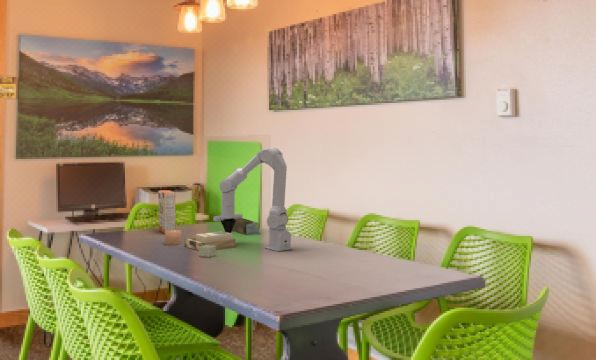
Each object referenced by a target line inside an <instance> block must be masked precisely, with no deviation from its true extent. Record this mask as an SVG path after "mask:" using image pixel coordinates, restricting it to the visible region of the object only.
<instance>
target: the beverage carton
mask: <svg viewBox="0 0 596 360" xmlns="http://www.w3.org/2000/svg"><path fill="white" fill-rule="evenodd" d="M234 220H236V222H235V224H234V226H233V228H232V232H234V233H237V234H241V235H244V236H255V235H260V223H259V222H257V221H254V220H250V219H246V218H243V217H242V219H234Z"/></svg>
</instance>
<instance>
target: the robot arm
mask: <svg viewBox="0 0 596 360" xmlns="http://www.w3.org/2000/svg"><path fill="white" fill-rule="evenodd" d="M283 153H284V152H282V151H281V150H279V149H278V148H277V147H271V148H269V147H266V148H265V147H264V148H262V149H261V150H260V151H258V152H257V153H256V154H255V155H254V156H253V157H252V158H251V159H250V160H249V161H248V162H247V163H246V164H245V165H244V166H243V167H242V168H241V167H238V168H235V169H234V170H233V172H232V173H231V174H230V175H227V177H226V179H225V178H224V179H222V180H221V181H220V183H219V187H218V188H219V190H220V191H221V215H220V214H219V215H216V216H213V217H212V219H213V221H214V222H219V221H220V223H221V225H222V227H223V229H224V232H228V233H232V232H233V231H232V228H233V226H234V224H235V222H236V220H234V219H242V218H243V213H235V209H236V208H235V207H236V206H235V205H236V204H235V201H236V200H235V198H236V197H235V194H236V193H235V192H236V190H237V188H238V186H239V185H240V184H242V183H243V182H244V181H245V180H246V179H247V178H248V174H249V173H251V171H253V170H254V169H255V168H257V167H258V166H259V165H260V164H266V165H268V166H269V167H270V168H271V169H272V171H273V182H272V183H273V184H272V185H273V186H272V201H271V202H272V203H271V204H272V205H271V208H270V209H269V211H268V212H269V215H268V217H267V218H266V225H267V226H268V228H269V235H268V238H269V241H268V242H269V244H268V245H269V246H265V249H268V250H273V251H276V252H282V251H287V250H289V251H290V250H292V249H293V248H292V246H291V245H292V244H291V242H292V240H291V239H292V236H291V232H290V231H289V230H287V226H286V225H287V224H288V223H289V216H288V213H287V210H288V209H287V207H286V206H285V203H286V201H285V200H286V185H287V184H286V183H287V181H286V180H287V171H288V169H287V168H288V167H287V166H288V165H287V163H286V162H285V159H284V156H283Z"/></svg>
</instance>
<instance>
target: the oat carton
mask: <svg viewBox="0 0 596 360" xmlns="http://www.w3.org/2000/svg"><path fill="white" fill-rule="evenodd" d="M195 237H196V241H199V242H202V243H204V242H211V241H219V240H227V239H233V233H232V232H231V233H228V232H225V230H224V231H214V232H213V231H212V232H205V233H197V234H195Z"/></svg>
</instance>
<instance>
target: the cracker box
mask: <svg viewBox="0 0 596 360" xmlns="http://www.w3.org/2000/svg"><path fill="white" fill-rule="evenodd" d="M158 229H159V231H160V232H161V233H162V234H164V235H165V231H166V230H173V229H175V230H177V227H176V192H174V191H172V190H170V189H169V190H166V189H165V190H164V189H162V190H161V189H160V190H158Z"/></svg>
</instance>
